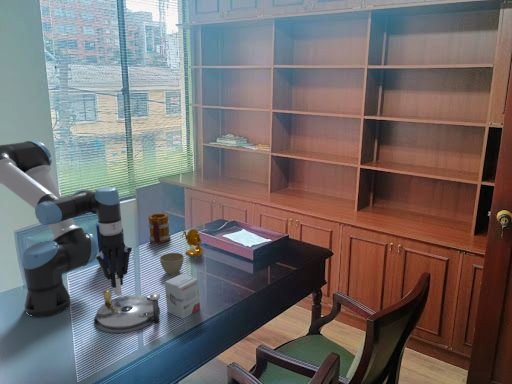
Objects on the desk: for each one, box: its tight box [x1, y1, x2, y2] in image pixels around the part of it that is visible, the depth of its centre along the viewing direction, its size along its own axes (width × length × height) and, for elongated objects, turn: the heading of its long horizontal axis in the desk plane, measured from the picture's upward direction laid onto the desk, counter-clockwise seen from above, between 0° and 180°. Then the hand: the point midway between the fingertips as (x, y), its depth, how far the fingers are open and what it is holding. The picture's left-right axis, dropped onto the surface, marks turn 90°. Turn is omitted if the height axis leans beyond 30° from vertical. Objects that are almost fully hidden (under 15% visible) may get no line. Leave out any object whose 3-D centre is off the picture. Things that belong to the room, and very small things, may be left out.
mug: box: [147, 212, 171, 245], centre depth 222 cm, size 11×16×15 cm, turn 4°
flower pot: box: [159, 252, 185, 276], centre depth 187 cm, size 10×10×7 cm
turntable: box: [96, 289, 154, 329], centre depth 153 cm, size 20×20×7 cm
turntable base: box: [93, 293, 161, 334], centre depth 153 cm, size 22×22×10 cm
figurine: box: [180, 228, 204, 257], centre depth 206 cm, size 9×11×12 cm
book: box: [95, 222, 125, 272], centre depth 190 cm, size 14×5×20 cm, turn 53°
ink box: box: [164, 273, 201, 319], centre depth 155 cm, size 9×9×12 cm
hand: (118, 294), depth 158 cm, fingers closed
